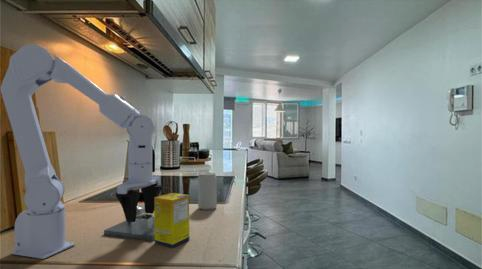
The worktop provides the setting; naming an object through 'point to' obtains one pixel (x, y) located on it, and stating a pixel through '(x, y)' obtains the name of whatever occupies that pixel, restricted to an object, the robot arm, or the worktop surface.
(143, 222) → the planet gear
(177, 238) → the supplement box
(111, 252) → the worktop surface
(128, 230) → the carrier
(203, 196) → the beverage can
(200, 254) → the worktop surface
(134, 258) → the worktop surface
